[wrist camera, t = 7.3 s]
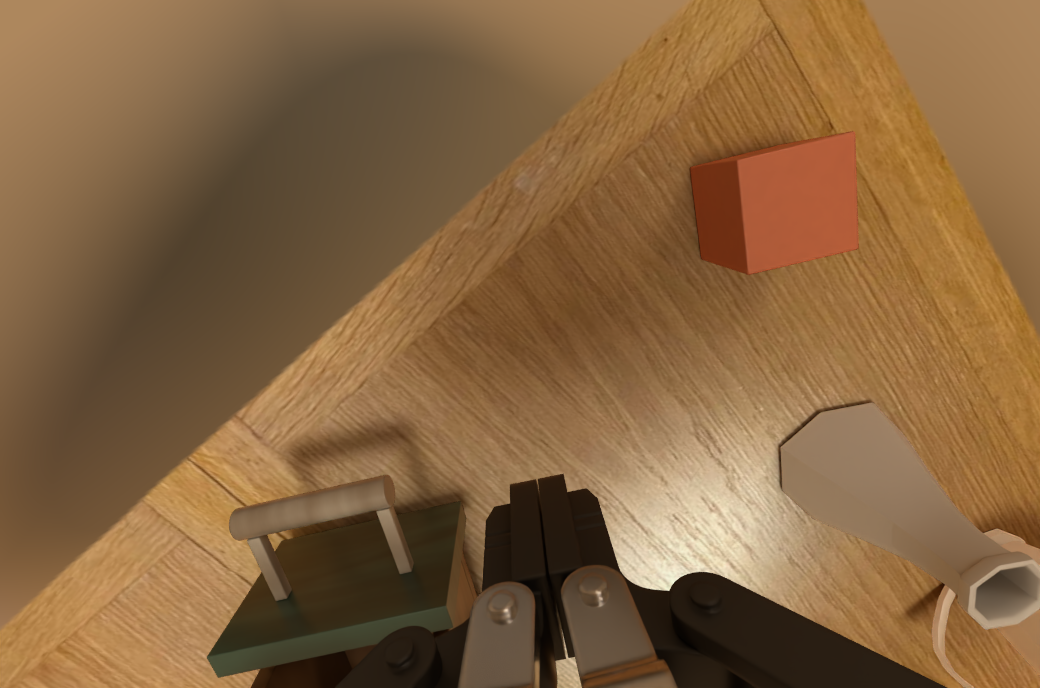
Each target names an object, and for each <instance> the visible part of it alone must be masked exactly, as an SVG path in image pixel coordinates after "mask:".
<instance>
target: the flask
mask: <svg viewBox="0 0 1040 688" xmlns="http://www.w3.org/2000/svg"><path fill="white" fill-rule="evenodd" d="M781 469H782V491H783V492H784V493H785V494H786V495H788V496H789V497H790V498H791V499H792V500H793V501H794V502H795V503H796V504H797V505H799V506H800V507H801V508H802V509H803V510H804V511H805V512H806V513H807V514H808V515H810V516H811V517H812V518H813V519H815V520H817V521H819V522H822V523H824V524H826V525H828V526H831V527H833V528H836V529H838V530H841V531H843V532H845V533H848V534H850V535H853V536H855V537H858V538H860V539H862V540H865V541H867V542H869V543H871V544H873V545H875V546H878V547H880V548H882V549H884V550H886V551H889V552H891V553H893V554H895V555H897V556H899V557H902V558H904V559H906V560H908V561H910V562H911V563H913V564H914V565H916V566H917V567H919V568H920V569H922V570H924V571H925V572H927V573H928V574H930V575H931V576H933V577H934V578H936V579H937V580H939V581H941V582H942V583H944V584H945V585H946V586H947V587H949V588H950V589H951V590H952V591H953V592H954V593H955V594H957V595H958V603H959V604H960V606H961V607H962V608H963V609H964V610H965V611H966V612H967V613H968V614H969V615H970V616H971V617H972V618H973V619H974V620H975V621H976V622H977V623H978V624H980V625H981V626H982V627H983V628H984V629H992V628H998V627H1004V626H1009V625H1015V624H1019V623H1020V622H1022V621H1023V620H1025V619H1026V618H1028V617H1029V616H1031V615H1032V614H1033V613H1035V612H1036V611H1038V610H1039V609H1040V566H1039V565H1038V564H1037V563H1036V561H1035V560H1034V559H1032V558H1031V557H1030V556H1028V555H1027V554H1024V553H1022V552H1018V551H1016V552H1010V551H1008V550H1006V549H1004V548H1003V547H1001V546H1000V545H999V544H997V543H996V542H995V541H993V540H992V539H990V538H989V537H988V536H986V535H985V534H984V533H982V532H981V531H980V530H978V529H977V528H976V527H975V526H974V525H973V524H972V523H971V522H970V521H969V520H968V519H967V518H966V517H965V516H964V515H963V514H962V513H961V512H960V511H959V510H958V509H957V507H956V506H955V505H954V503H953V502H952V501H951V499H950V498H949V497H948V495H947V494H946V493H945V491H944V490H943V489H942V487H941V486H940V485H939V483H938V482H937V481H936V479H935V478H934V477H933V475H932V474H931V473H930V471H929V470H928V468H927V467H926V465H925V464H924V462H923V461H922V459H921V458H920V456H919V455H918V453H917V452H916V450H915V449H914V447H913V446H912V445H911V443H910V442H909V441H908V439H907V438H906V436H905V435H904V434H903V433H902V432H901V431H900V430H899V429H898V428H897V426H896V425H895V424H894V423H893V422H892V421H891V420H890V419H889V418H888V417H887V416H886V415H885V414H884V413H883V412H882V411H881V410H880V409H879V408H878V407H877V406H876V405H875V404H874V403H873V402H872V403H867V404H862V405H856V406H851V407H846V408H840V409H835V410H830V411H824V412H821V413H819V414H818V415H817V416H816V417H815V418H814V419H813V420H811V421H810V422H809V423H808V424H807V425H806V426H804V427H803V428H802V429H801V430H800V431H799V432H798V433H796V434H795V435H794V436H793V437H792V438H791V439H790V440H788V441H787V442H786V443H785V444H784V445H783V446H782V447H781Z"/></svg>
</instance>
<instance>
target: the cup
mask: <svg viewBox="0 0 1040 688" xmlns="http://www.w3.org/2000/svg"><path fill="white" fill-rule="evenodd" d="M984 534H985V535H986V536H988V537H989V538H990V539H992V540H993V541H995V542H996V543H997V544H999V545H1000V546H1001V547H1003V548H1004V549H1006V550H1008V551H1010V552H1016V551H1018V552H1022V553H1024V554H1027V555H1028V556H1030V557H1031V558H1032V559H1034V560H1035V561H1036V563H1037V564H1038V565H1039V566H1040V549H1039V548H1036V547H1033V546H1031V545H1028V544H1025V541H1024V540H1023V539H1021V538H1020V537H1018V536H1016V535H1013V534H1010V533H1008V532H1005V531H1002V530H1000V529H994V530H991V531H988V532H985V533H984ZM955 596H956V594H955V593H954V592H953V591H952V590H951V589H950V588H949V587H947V586H946V585H944V588H943V590H942V592H941V594H940V596H939V598H938V601H937V606H936V610H935V614H934V620H933V626H932V640H933V649H934V651H935V653H936V655H937V657H938V658H939V660H940V662H941V664H942V666H943V667H944V669H945V670H946V671H947V672H948V673H949V674H950V675H951V676H952V677H953V678H954V679H956V680H957V681H958V682H959V683H960V684H961V685H962V686H963V687H964V688H975V687H973V686H972V685H970V684H969V683H967V682H966V681H965V680H964V679H962V678H961V677H960V676H959V675H958V674H957V673H956V672H955V671H954V670H953V668H952V666H951V664H950V662H949V660H948V659H947V657H946V655H945V638H944V637H945V631H946V624H947V619H948V614H949V609H950V606H951V604H952V602H953V600H954V598H955ZM997 629H998V630H999V631H1000V633H1001V634H1002V635H1003V636H1004V637H1005V638H1006V639H1007V640H1008V641H1009V643H1010V644H1011V645H1012V646H1013V647H1014V648H1015V649H1016V650H1017V651H1018V653H1019V654H1020V655H1021V656H1022V657H1023V658H1024V659H1025V660H1026V661H1027V663H1028V664H1029V665H1030V666H1031V667H1032V668H1033V669H1034V670H1035V671H1036V673H1037V674H1038V675H1039V676H1040V609H1039V610H1038V611H1036V612H1035V613H1033V614H1032V615H1031V616H1029V617H1028V618H1026V619H1025V620H1023V621H1022V622H1020V623H1019V624H1015V625H1009V626H1004V627H998V628H997Z"/></svg>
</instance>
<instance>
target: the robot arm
mask: <svg viewBox="0 0 1040 688" xmlns="http://www.w3.org/2000/svg"><path fill="white" fill-rule="evenodd" d="M538 485H539V489H538ZM538 485H537V481H536V479H535V480H530V481H525V482H520V483H515V484H510V504H506V505H501V506H496V507H494V508H493V510H492V512H491V513H490V515H489V517H488V518H487V520H486V532H485V535H486V537H485V550H484V568H483V586H482V593H481V594H480V595H479V596H478V597H477V598H476V600H475V601H474V603H473V605H472V608H471V612H470V617H469V618H468V619H467V620H466V621H465V622H463V623H462V624H460V625H459V626H457V627H455V628H454V629H452V630H450V631H448V632H446V633H443V634H441V635H439V636H437V637H435V638H434V636H433V634H432V633H431V632H430V631H429V630H428V629H426V628H424V627H421V626H407V627H404V628H400V629H398V630H396V631H394V632H392V633H390V634H389V635H388V636H386V637H385V638H384V639H382V640H381V641H380V642H379V643H378V644H377V645H376V646H375V647H374V648H373V649H372V650H371V651H370V652H369V653H368V654H367V655H366V656H365V657H364V658H363V659H362V660H361V661H360V663H359V664H358V665H357V666H356V667H355V668H354V669H353V670H352V671H351V672H350V673H349V674H348V675H347V676H346V677H345V678H344V679H343V680H342V681H341V682H340V683H339V684H338V685H337V686H336V687H335V688H557V671H556V662H555V661H556V660H562V659H566V657H565V649H564V641H563V636H564V640H565V644H566V648H567V653H568V657H569V658H571V657H575V659H576V663H577V668H578V672H579V676H580V681H581V685H582V688H947V687H945V686H943V685H941V684H939V683H937V682H935V681H933V680H931V679H929V678H926V677H924V676H922V675H920V674H918V673H916V672H914V671H912V670H910V669H908V668H906V667H904V666H902V665H900V664H898V663H896V662H894V661H892V660H890V659H888V658H886V657H884V656H882V655H880V654H878V653H876V652H874V651H872V650H870V649H868V648H866V647H864V646H862V645H860V644H858V643H856V642H854V641H852V640H850V639H848V638H846V637H844V636H842V635H840V634H838V633H836V632H834V631H832V630H830V629H828V628H826V627H824V626H822V625H820V624H817V623H815V622H813V621H811V620H809V619H807V618H805V617H803V616H801V615H799V614H797V613H795V612H793V611H791V610H789V609H787V608H785V607H783V606H781V605H779V604H777V603H775V602H773V601H771V600H769V599H767V598H765V597H763V596H761V595H759V594H757V593H755V592H753V591H751V590H749V589H747V588H745V587H743V586H741V585H739V584H737V583H735V582H733V581H731V580H729V579H727V578H725V577H722V576H720V575H717V574H713V573H708V572H695V573H690V574H687V575H684V576H682V577H681V578H679V579H678V580H677V581H675V582H674V584H673V585H672V586H671V589H670V591H662V590H652V589H647V588H643V587H640V586H638V585H635V584H634V583H632V582H630V581H629V580H628V579H627V578H626V577H625V576H624V575H623V574H622V573H621V571H620V569H619V567H618V563H617V560H616V557H615V554H614V550H613V547H612V544H611V541H610V537H609V534H608V531H607V528H606V525H605V521H604V518H603V515H602V511H601V508H600V505H599V502H598V498H597V497H595V496H594V495H593V494H592V493H591V492H590V491H589V490H588V489H581V490H576V491H571V492H567V488H566V483H565V479H564V474H560V475H555V476H550V477H545V478H540V479H538ZM562 631H563V634H562Z"/></svg>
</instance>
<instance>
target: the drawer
mask: <svg viewBox="0 0 1040 688" xmlns="http://www.w3.org/2000/svg"><path fill="white" fill-rule="evenodd" d="M394 502H395V488H394V484H393V481H392V479H391V477H390V476H389V475H383V476H378V477H374V478H369V479H365V480H360V481H356V482H352V483H347V484H343V485H338V486H334V487H329V488H325V489H321V490H316V491H312V492H307V493H303V494H299V495H294V496H290V497H285V498H281V499H276V500H272V501H268V502H263V503H259V504H254V505H250V506H245V507H241V508H237V509H236V510H234V511H233V513H232V514H231V516H230V520H229V529H230V533H231V535H232V536H233V538H234V539H236V540H239V541H241V540H246V539H248V540H247V542H248V544H249V546H250V548H251V550H252V553H253V555H254V557H255V559H256V561H257V563H258V565H259V567H260V569H261V571H262V572H261V574H260V576H259V577H258V579H257V580H256V582H255V583H254V585H253V586H252V588H251V589H250V591H249V593H248V594H247V596H246V597H245V599H244V600H243V602H242V603H241V605H240V607H239V608H238V610H237V611H236V613H235V614H234V616H233V617H232V619H231V620H230V622H229V624H228V625H227V627H226V628H225V630H224V631H223V633H222V634H221V636H220V638H219V639H218V641H217V642H216V644H215V645H214V647H213V648H212V650H211V651H210V653H209V655H208V656H207V659H208V660H209V662H210V664H211V666H212V668H213V669H214V671H215V673H216V675H217V677H218V678H219V677H224V676H229V675H234V674H238V673H243V672H248V671H252V670H257V669H260V671H259V673H258V675H257V677H256V679H255V680H254V682H253V684H252V686H251V688H335V687H336V686H337V685H338V684H339V683H340V682H341V681H342V680H343V679H344V678H345V677H346V676H347V675H348V674H349V673H350V672H351V671H352V670H353V669H354V668H355V667H356V666H357V665H358V664H359V663H360V661H361V660H362V659H363V658H364V657H365V656H366V655H367V654H368V653H369V652H370V651H371V650H372V649H373V648H374V647H375V646H376V645H377V644H378V643H379V642H380V641H381V640H382V639H384V638H385V637H386V636H388V635H389V634H390V633H392V632H394V631H396V630H398V629H400V628H404V627H407V626H421V627H424V628H426V629H428V630H429V631H430V632H431V633H432V634H433V636H434V638H435V637H437V636H439V635H441V634H443V633H446V632H448V631H450V630H452V629H454V628H455V627H457V626H459V625H460V624H462V623H463V622H465V621H466V620H467V619H468V618H469V617H470V612H471V608H472V605H473V603H474V601H475V600H476V598H477V595H476V592H475V589H474V585H473V582H472V579H471V576H470V573H469V570H468V567H467V564H466V561H465V558H464V555H463V552H462V551H463V543H464V534H465V526H466V515H465V512H464V509H463V506H462V503H461V501H458V502H454V503H449V504H445V505H440V506H436V507H431V508H427V509H422V510H418V511H413V512H409V513H404V514H400V515H396V512H395V510H394V507H393V505H394ZM375 510H377V511H376V512H377V515H378V518H379V519H377V520H373V521H368V522H364V523H359V524H355V525H350V526H346V527H342V528H337V529H333V530H328V531H324V532H319V533H315V534H310V535H306V536H301V537H297V538H292V539H288V540H283V541H281V543H280V544H279V546H278V548H277V549H276V551H274V549H273V547H272V545H271V543H270V541H269V538H268V536H267V535H268V534H272V533H277V532H281V531H286V530H290V529H295V528H299V527H304V526H308V525H313V524H317V523H322V522H326V521H331V520H335V519H339V518H344V517H348V516H353V515H357V514H362V513H366V512H371V511H375Z"/></svg>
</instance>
